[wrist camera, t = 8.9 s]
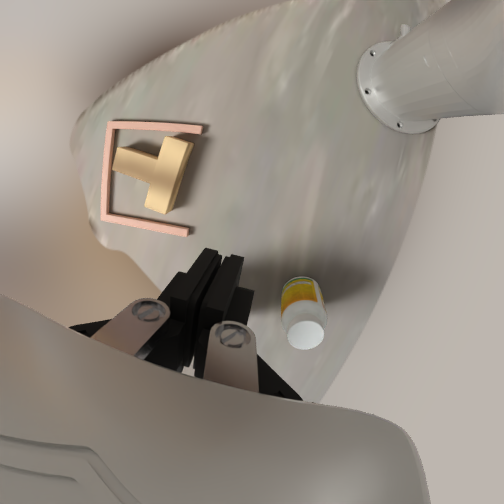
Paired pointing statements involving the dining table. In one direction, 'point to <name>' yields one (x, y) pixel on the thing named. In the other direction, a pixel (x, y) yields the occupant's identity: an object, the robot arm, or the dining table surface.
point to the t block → (157, 170)
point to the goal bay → (107, 174)
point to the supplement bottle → (303, 312)
